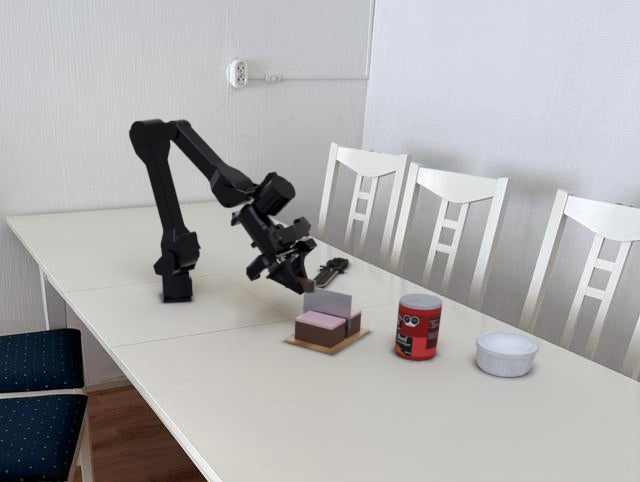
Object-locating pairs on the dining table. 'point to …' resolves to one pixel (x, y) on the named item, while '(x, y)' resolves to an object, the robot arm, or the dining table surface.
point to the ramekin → (505, 353)
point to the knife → (333, 272)
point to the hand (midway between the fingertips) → (305, 292)
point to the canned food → (418, 326)
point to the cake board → (325, 349)
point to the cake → (325, 328)
